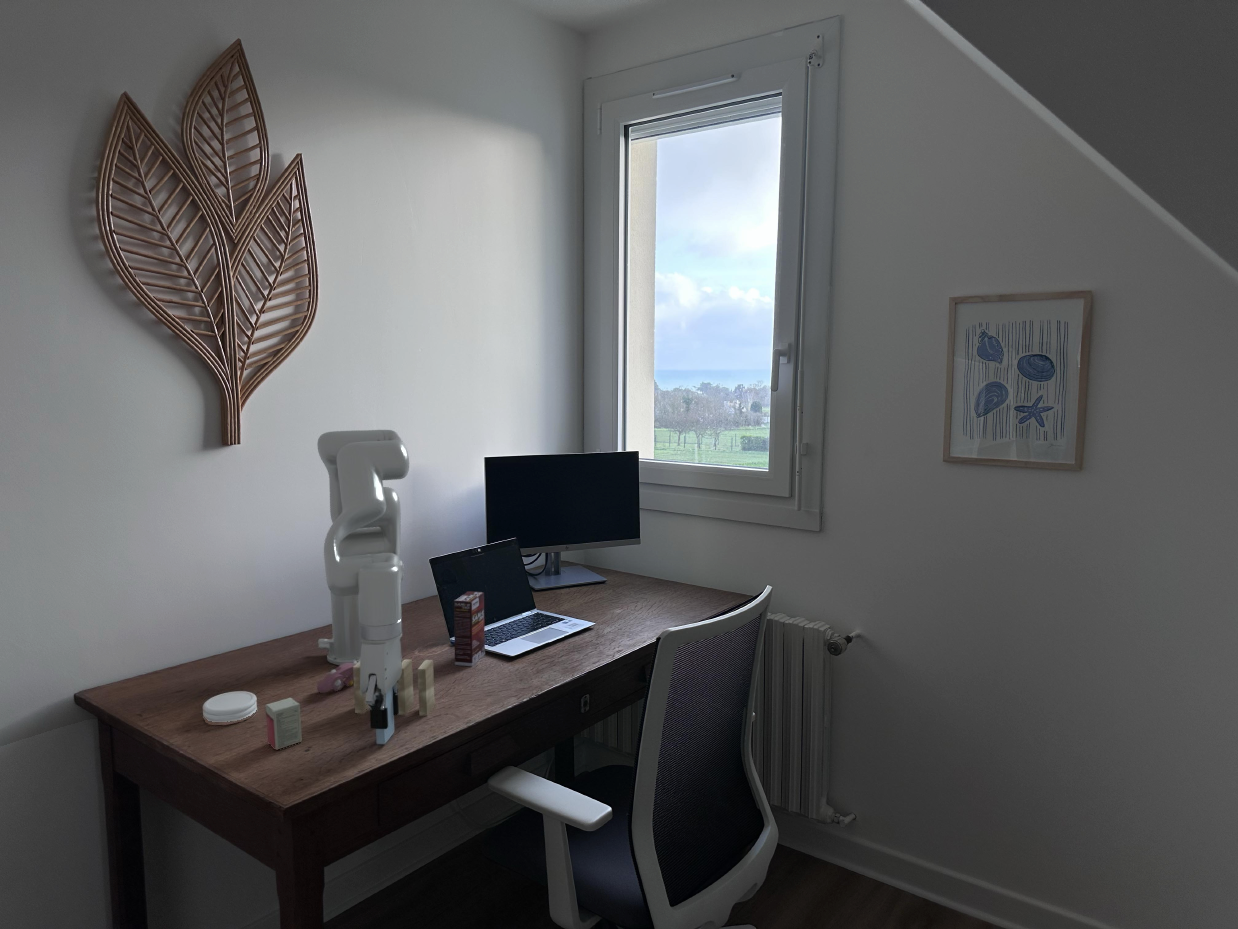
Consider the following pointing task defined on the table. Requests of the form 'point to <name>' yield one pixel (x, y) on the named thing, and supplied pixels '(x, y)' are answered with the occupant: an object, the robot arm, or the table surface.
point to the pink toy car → (337, 678)
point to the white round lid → (230, 706)
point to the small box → (283, 723)
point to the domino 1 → (359, 697)
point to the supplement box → (469, 628)
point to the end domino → (385, 734)
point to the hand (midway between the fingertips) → (384, 720)
